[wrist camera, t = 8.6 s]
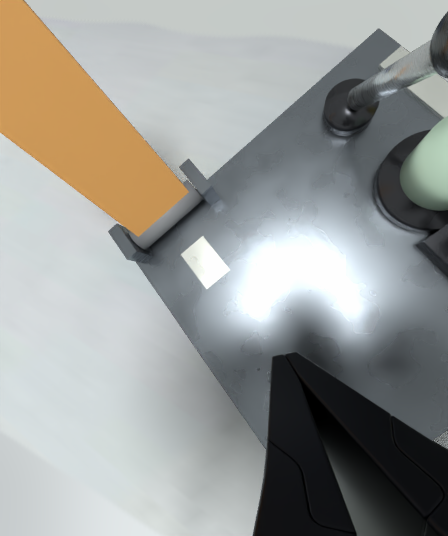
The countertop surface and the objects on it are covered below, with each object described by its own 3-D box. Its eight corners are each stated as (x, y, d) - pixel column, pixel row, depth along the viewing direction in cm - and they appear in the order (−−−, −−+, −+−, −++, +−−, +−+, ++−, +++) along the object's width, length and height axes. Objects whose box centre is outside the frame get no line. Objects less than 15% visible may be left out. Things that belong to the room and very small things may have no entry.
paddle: (206, 202, 17) (-24, -73, 8) (149, 253, 18) (-129, 52, 8) (198, 192, 18) (-13, -60, 9) (144, 240, 19) (-107, 49, 10)
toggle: (384, 102, 15) (565, 22, 8) (350, 131, 15) (494, 80, 8) (364, 63, 14) (544, -66, 7) (329, 93, 15) (466, 0, 7)
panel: (653, 277, 14) (786, 271, 10) (313, 502, 16) (322, 562, 12) (363, 43, 18) (383, -18, 15) (134, 246, 21) (102, 236, 17)
